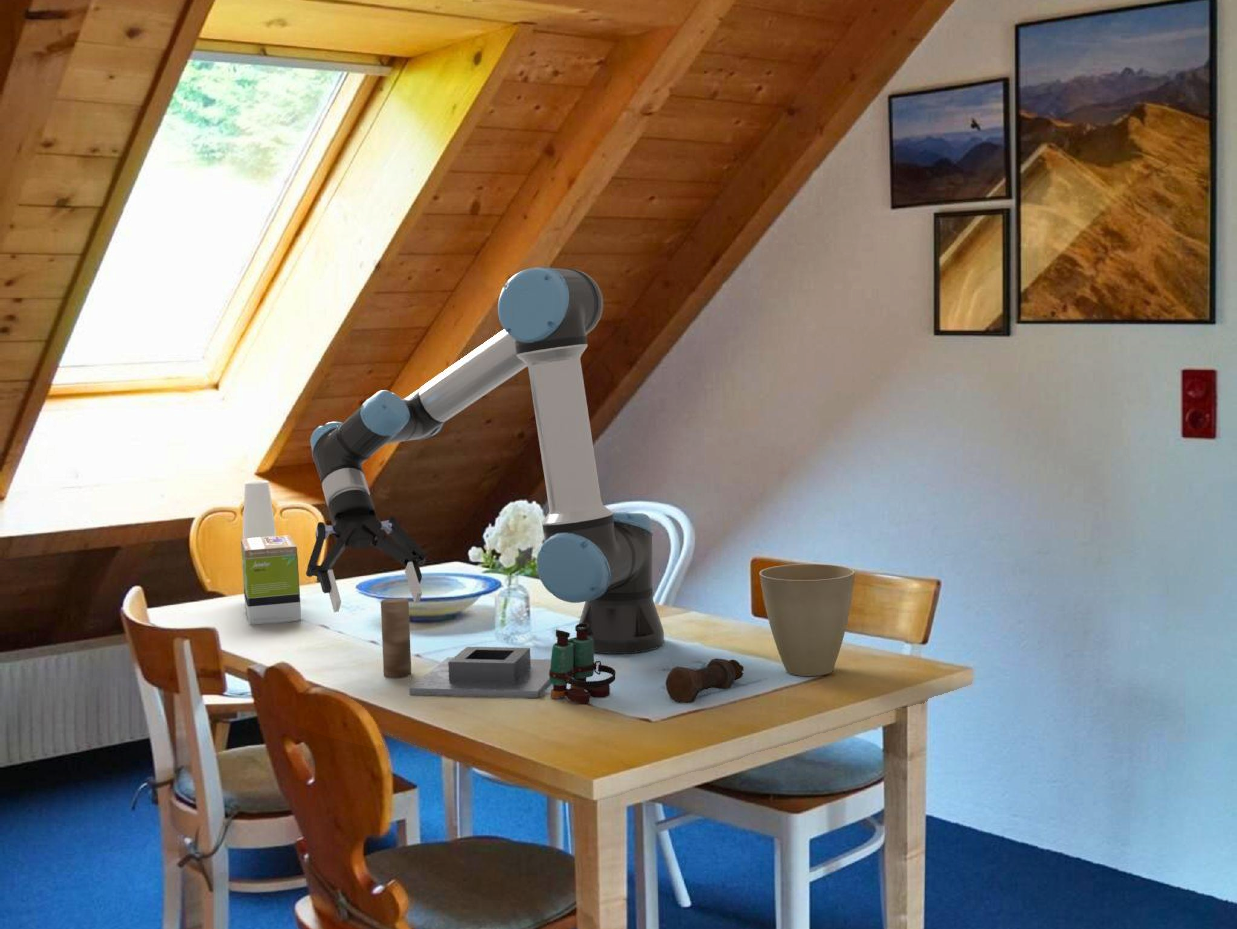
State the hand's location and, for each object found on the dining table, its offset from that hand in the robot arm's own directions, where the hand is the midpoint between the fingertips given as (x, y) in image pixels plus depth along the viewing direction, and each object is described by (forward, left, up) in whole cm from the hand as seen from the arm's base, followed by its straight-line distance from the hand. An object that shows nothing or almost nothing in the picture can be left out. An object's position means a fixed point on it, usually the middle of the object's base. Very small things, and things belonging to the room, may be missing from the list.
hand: (378, 602), depth 241 cm
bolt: (-55, +10, -11) cm, 57 cm away
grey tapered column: (+46, -56, -11) cm, 73 cm away
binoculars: (-37, +16, -11) cm, 42 cm away
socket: (-20, +7, -11) cm, 24 cm away
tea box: (+36, -38, -11) cm, 54 cm away
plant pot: (-69, -3, -11) cm, 70 cm away
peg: (-4, +5, -11) cm, 12 cm away
